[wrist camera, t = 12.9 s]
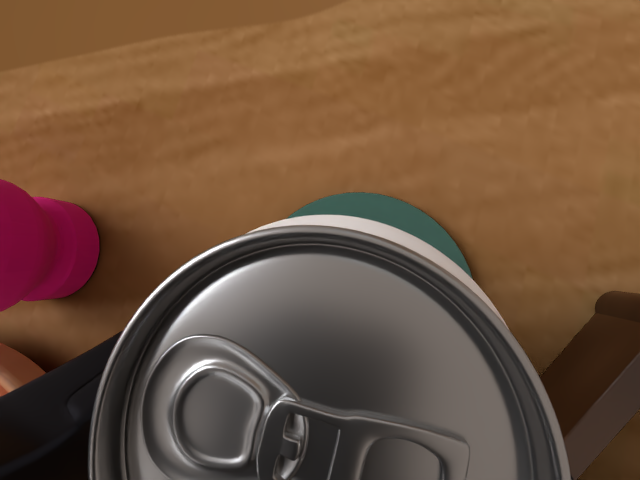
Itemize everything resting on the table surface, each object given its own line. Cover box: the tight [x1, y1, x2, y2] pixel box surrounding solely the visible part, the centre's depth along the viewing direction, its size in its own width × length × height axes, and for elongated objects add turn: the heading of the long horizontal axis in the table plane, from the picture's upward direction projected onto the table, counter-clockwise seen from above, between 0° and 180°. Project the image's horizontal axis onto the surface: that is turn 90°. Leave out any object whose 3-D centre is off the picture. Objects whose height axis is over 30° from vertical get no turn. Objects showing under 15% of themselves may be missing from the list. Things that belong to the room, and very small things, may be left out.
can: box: [88, 215, 571, 480], centre depth 9 cm, size 6×6×12 cm
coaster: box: [287, 192, 473, 280], centre depth 16 cm, size 12×12×1 cm
